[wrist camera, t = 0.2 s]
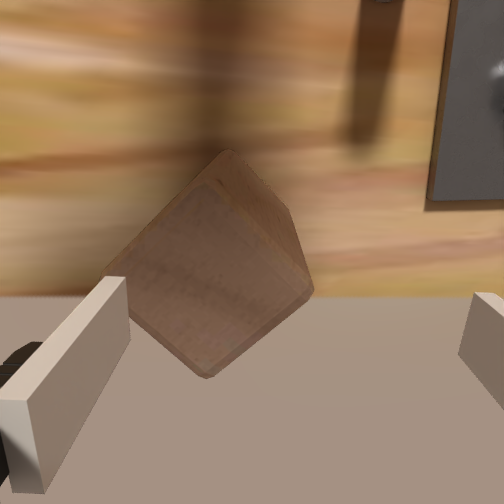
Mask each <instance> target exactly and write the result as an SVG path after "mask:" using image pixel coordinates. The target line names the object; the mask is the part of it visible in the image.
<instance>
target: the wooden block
mask: <svg viewBox="0 0 504 504" xmlns="http://www.w3.org/2000/svg"><path fill="white" fill-rule="evenodd" d="M105 276H116V277H126V288H127V301H128V314H129V317H130V318H131V319H132V320H133V321H135V322H136V323H137V324H138V325H139V326H140V327H142V328H143V329H144V330H145V331H146V332H148V333H149V334H150V335H151V336H152V337H153V338H154V339H156V340H157V341H158V342H159V343H160V344H162V345H163V346H164V347H165V348H166V349H168V350H169V351H170V352H171V353H172V354H173V355H175V356H176V357H177V358H178V359H179V360H180V361H182V362H183V363H184V364H185V365H186V366H187V367H189V368H190V369H191V370H192V371H193V372H194V373H196V374H197V375H198V376H200V377H203V378H205V379H208V378H210V377H214V376H215V375H216V374H217V373H219V372H220V371H221V370H222V369H224V368H225V367H226V366H227V365H229V364H230V363H231V362H232V361H234V360H235V359H236V358H237V357H239V356H240V355H241V354H242V353H244V352H245V351H246V350H247V349H248V348H250V347H251V346H252V345H253V344H255V343H256V342H257V341H258V340H260V339H261V338H262V337H263V336H265V335H266V334H267V333H268V332H270V331H271V330H272V329H273V328H275V327H276V326H277V325H278V324H280V323H281V322H282V321H283V320H285V319H286V318H287V317H288V316H290V315H291V314H292V313H293V312H295V311H296V310H297V309H298V308H299V307H301V306H302V305H303V304H304V303H306V302H307V301H308V300H309V298H310V297H311V295H312V294H313V292H314V286H313V283H312V280H311V277H310V274H309V271H308V267H307V264H306V261H305V258H304V255H303V252H302V249H301V246H300V243H299V240H298V236H297V233H296V230H295V227H294V224H293V221H292V218H291V215H290V212H289V209H288V208H287V207H286V206H285V205H284V204H283V203H282V202H281V201H280V200H279V199H278V198H277V196H276V195H275V194H274V193H273V192H272V191H271V190H270V189H269V188H268V187H267V186H266V185H265V184H264V182H263V181H262V180H261V179H260V178H259V177H258V176H257V175H256V174H255V173H254V172H253V171H252V170H251V168H250V167H249V166H248V165H247V164H246V163H245V162H244V161H243V160H242V159H241V158H240V157H239V156H238V154H237V153H236V152H234V151H232V150H230V149H227V150H224V151H222V152H220V153H219V154H218V155H217V156H216V157H215V158H214V159H213V160H212V161H211V162H210V163H209V164H208V165H207V166H206V167H205V168H204V169H203V170H202V171H201V172H200V173H199V174H198V175H197V176H196V177H195V178H194V179H193V180H192V181H191V182H190V183H189V184H188V185H187V186H186V187H185V188H184V189H183V190H182V191H181V192H180V193H179V194H178V195H177V196H176V197H175V198H174V199H173V200H172V201H171V202H170V203H169V204H168V205H167V206H166V207H165V208H164V209H163V210H162V211H161V212H160V213H159V214H158V215H157V216H156V217H155V218H154V219H153V220H152V221H151V222H150V223H149V224H148V226H147V227H146V228H145V229H144V230H143V231H142V232H141V233H140V234H139V235H138V236H137V237H136V238H135V239H134V240H133V241H132V242H131V243H130V244H129V245H128V246H127V247H126V248H125V249H124V250H123V251H122V252H121V253H120V254H119V255H118V256H117V257H116V258H115V259H114V260H113V261H112V262H111V263H110V264H109V265H108V266H107V267H106V268H105V269H104V270H103V271H102V274H101V277H100V279H99V282H100V281H101V280H102V279H103V278H104V277H105Z"/></svg>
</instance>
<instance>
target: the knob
mask: <svg viewBox="0 0 504 504" xmlns="http://www.w3.org/2000/svg"><path fill="white" fill-rule="evenodd" d="M375 1H377V2H382V3H385V2H390V1H392V0H375Z"/></svg>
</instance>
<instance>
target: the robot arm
mask: <svg viewBox="0 0 504 504" xmlns="http://www.w3.org/2000/svg"><path fill="white" fill-rule="evenodd" d="M129 342H130V328H129V314H128V301H127V288H126V277H116V276H105V277H104V278H103V279H102V280H101V281H100V282H99V283H98V284H97V286H96V287H95V288H94V289H93V290H92V291H91V292H90V293H89V294H88V295H87V296H86V297H85V298H84V299H83V301H82V302H81V303H80V304H79V305H78V306H77V307H76V308H75V309H74V310H73V311H72V312H71V313H70V315H69V316H68V317H67V318H66V319H65V320H64V321H63V322H62V323H61V324H60V325H59V326H58V327H57V329H56V330H55V331H54V332H53V333H52V334H51V335H50V336H49V337H48V338H47V339H46V340H45V341H44V342H30V343H29V344H27V345H25V346H23V347H21V348H20V349H18V350H16V351H15V352H14V353H13V354H12V355H11V356H10V357H9V358H8V359H7V360H6V361H4V362H3V365H1V366H0V486H1V485H2V483H3V482H4V480H5V479H6V477H7V476H8V475H9V479H10V484H11V488H12V492H13V493H35V494H45V492H46V491H47V489H48V487H49V485H50V483H51V482H52V480H53V478H54V476H55V474H56V473H57V471H58V469H59V467H60V465H61V464H62V462H63V460H64V458H65V456H66V455H67V453H68V451H69V449H70V448H71V446H72V444H73V442H74V440H75V439H76V437H77V435H78V433H79V431H80V430H81V428H82V426H83V424H84V422H85V421H86V419H87V417H88V415H89V413H90V412H91V410H92V408H93V406H94V405H95V403H96V401H97V399H98V397H99V396H100V394H101V392H102V390H103V388H104V386H105V385H106V383H107V381H108V379H109V377H110V376H111V374H112V372H113V370H114V369H115V367H116V365H117V363H118V361H119V360H120V358H121V356H122V354H123V353H124V351H125V349H126V347H127V345H128V343H129ZM458 355H459V356H460V358H461V359H462V360H463V361H464V362H465V364H466V365H467V366H468V367H469V368H470V370H471V371H472V372H473V373H474V375H475V376H476V377H477V378H478V379H479V381H480V382H481V383H482V384H483V386H484V387H485V388H486V389H487V390H488V392H489V393H490V394H491V395H492V396H493V398H494V399H495V400H496V401H497V402H498V404H499V405H500V406H501V407H502V408H503V410H504V300H503V299H501V298H500V297H499V296H498V295H496V294H495V293H481V292H474V294H473V298H472V302H471V306H470V310H469V314H468V317H467V321H466V325H465V329H464V333H463V336H462V340H461V344H460V348H459V352H458Z"/></svg>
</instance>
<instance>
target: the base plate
mask: <svg viewBox="0 0 504 504" xmlns="http://www.w3.org/2000/svg"><path fill="white" fill-rule="evenodd" d="M426 198H428V199H430V200H432V201H447V200H489V199H504V0H451V6H450V14H449V22H448V30H447V38H446V45H445V53H444V61H443V69H442V77H441V85H440V93H439V101H438V109H437V117H436V125H435V133H434V141H433V149H432V157H431V165H430V173H429V181H428V189H427V197H426Z"/></svg>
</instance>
